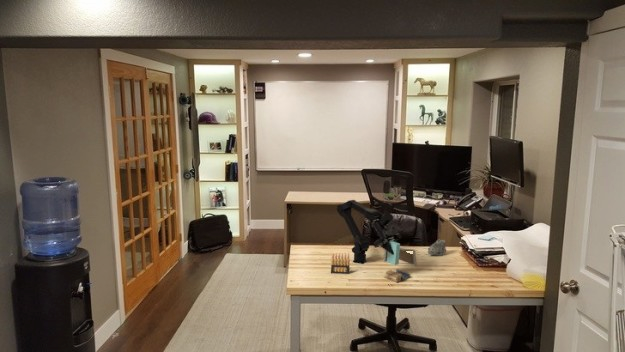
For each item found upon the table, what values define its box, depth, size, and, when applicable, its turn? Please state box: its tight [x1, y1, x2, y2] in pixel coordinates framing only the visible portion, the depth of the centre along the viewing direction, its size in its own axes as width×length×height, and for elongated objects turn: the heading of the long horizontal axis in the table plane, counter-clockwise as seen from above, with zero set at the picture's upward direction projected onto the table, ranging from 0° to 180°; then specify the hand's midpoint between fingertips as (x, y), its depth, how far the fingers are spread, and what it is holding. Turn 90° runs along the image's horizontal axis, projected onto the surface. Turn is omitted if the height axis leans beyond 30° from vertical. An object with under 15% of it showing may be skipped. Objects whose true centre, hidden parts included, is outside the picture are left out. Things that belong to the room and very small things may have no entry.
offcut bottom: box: [384, 275, 401, 283], centre depth 237 cm, size 8×4×1 cm, turn 40°
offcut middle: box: [384, 272, 401, 280], centre depth 237 cm, size 8×4×1 cm, turn 40°
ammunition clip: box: [330, 252, 351, 275], centre depth 246 cm, size 11×2×12 cm, turn 85°
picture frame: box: [383, 247, 416, 266], centre depth 274 cm, size 19×2×30 cm
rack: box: [383, 268, 411, 284], centre depth 239 cm, size 10×11×3 cm
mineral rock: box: [427, 238, 447, 256], centre depth 278 cm, size 13×11×10 cm
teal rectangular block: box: [386, 241, 401, 266], centre depth 243 cm, size 6×3×12 cm, turn 39°
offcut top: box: [385, 269, 402, 278], centre depth 236 cm, size 8×4×1 cm, turn 40°
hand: (395, 253), depth 242 cm, fingers closed on teal rectangular block, 3 cm apart
